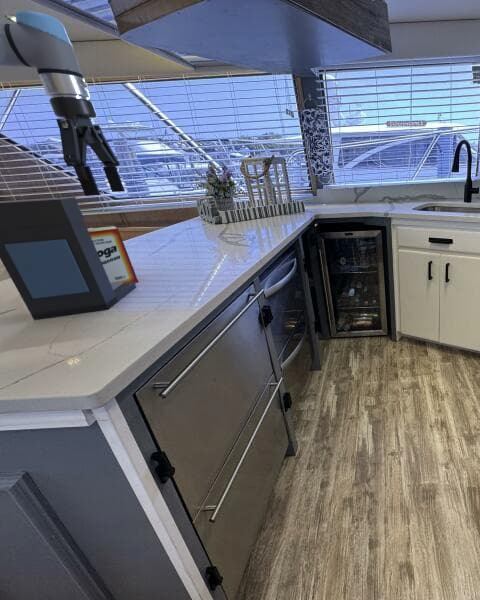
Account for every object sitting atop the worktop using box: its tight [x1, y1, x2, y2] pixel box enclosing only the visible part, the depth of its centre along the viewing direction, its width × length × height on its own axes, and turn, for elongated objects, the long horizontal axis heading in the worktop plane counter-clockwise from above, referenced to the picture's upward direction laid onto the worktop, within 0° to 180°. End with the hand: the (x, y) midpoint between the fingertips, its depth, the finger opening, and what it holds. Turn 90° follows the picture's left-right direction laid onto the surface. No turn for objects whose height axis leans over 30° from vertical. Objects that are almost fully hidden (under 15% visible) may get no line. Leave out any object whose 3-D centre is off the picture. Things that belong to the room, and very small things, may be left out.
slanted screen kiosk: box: [0, 196, 137, 321], centre depth 76 cm, size 14×16×25 cm
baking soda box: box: [87, 225, 139, 284], centre depth 90 cm, size 10×6×16 cm
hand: (106, 193), depth 84 cm, fingers open, 13 cm apart
